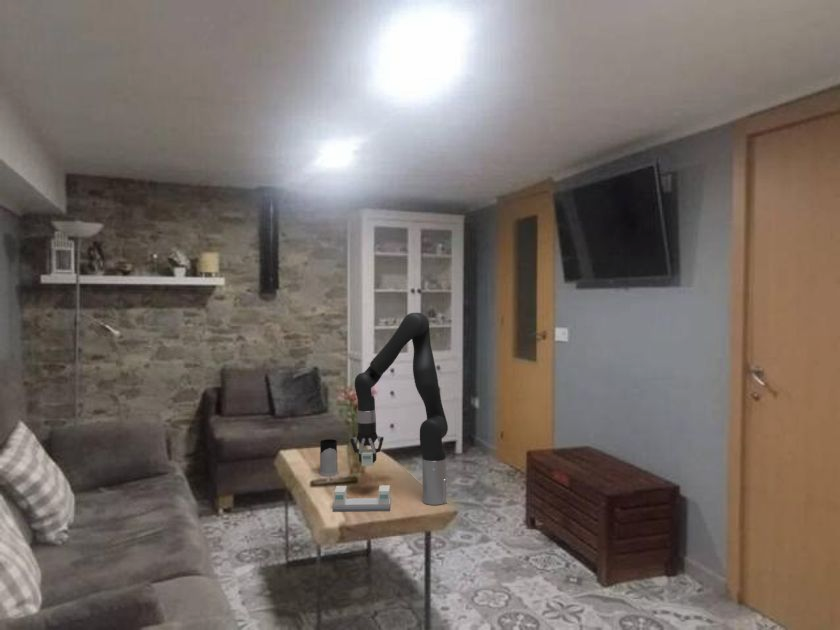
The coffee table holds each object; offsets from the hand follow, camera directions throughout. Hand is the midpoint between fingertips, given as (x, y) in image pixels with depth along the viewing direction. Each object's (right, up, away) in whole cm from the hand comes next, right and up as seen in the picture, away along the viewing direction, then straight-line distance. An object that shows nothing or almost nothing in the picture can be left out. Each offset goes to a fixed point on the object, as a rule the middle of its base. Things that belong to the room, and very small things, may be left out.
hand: (367, 462), depth 244 cm
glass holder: (-21, -13, +33) cm, 42 cm away
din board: (-1, -14, -12) cm, 19 cm away
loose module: (0, -1, 0) cm, 1 cm away
